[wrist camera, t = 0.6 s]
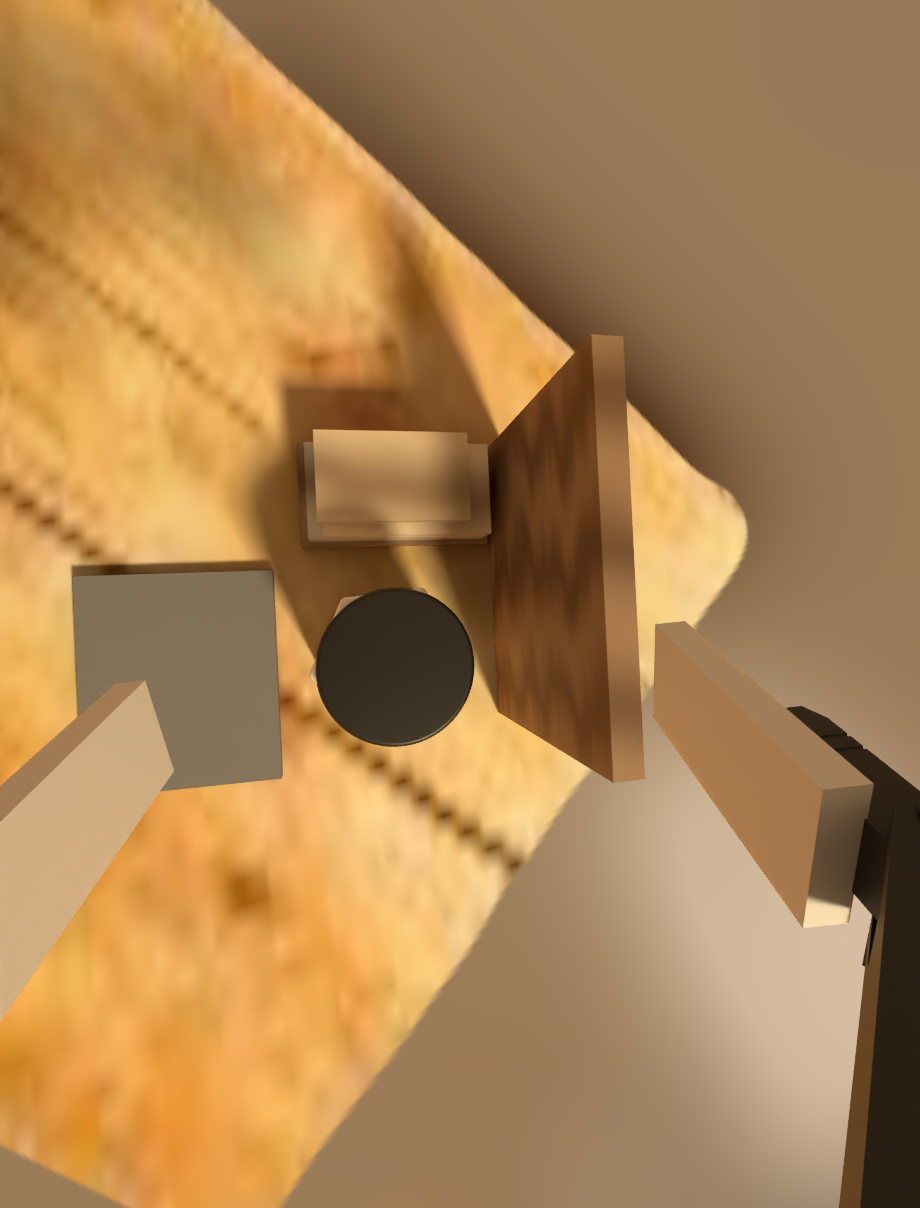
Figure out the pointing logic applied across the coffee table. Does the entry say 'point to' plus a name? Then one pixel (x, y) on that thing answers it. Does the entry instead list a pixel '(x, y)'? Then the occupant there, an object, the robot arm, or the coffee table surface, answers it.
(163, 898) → the coffee table surface
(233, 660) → the rubber mat
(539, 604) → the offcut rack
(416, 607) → the jar
